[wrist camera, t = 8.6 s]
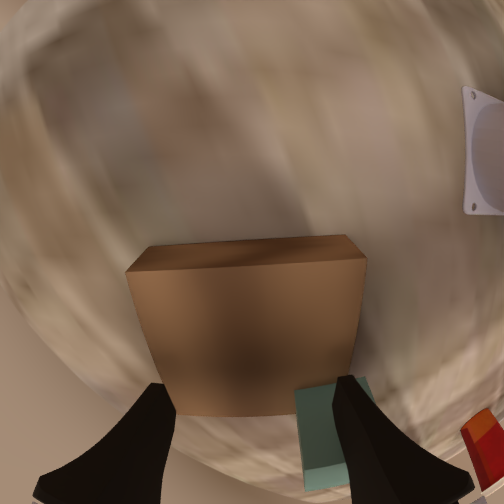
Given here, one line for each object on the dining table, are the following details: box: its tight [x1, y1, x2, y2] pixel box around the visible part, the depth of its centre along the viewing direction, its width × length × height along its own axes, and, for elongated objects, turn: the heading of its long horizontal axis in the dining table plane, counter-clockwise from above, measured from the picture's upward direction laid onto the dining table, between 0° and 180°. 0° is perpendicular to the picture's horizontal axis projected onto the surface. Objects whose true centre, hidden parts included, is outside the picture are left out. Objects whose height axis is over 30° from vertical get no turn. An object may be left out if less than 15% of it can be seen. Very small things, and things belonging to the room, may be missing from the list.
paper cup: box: [461, 408, 504, 497], centre depth 17 cm, size 8×8×14 cm
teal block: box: [294, 376, 376, 492], centre depth 11 cm, size 4×4×5 cm
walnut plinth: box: [125, 235, 367, 417], centre depth 14 cm, size 10×10×3 cm
